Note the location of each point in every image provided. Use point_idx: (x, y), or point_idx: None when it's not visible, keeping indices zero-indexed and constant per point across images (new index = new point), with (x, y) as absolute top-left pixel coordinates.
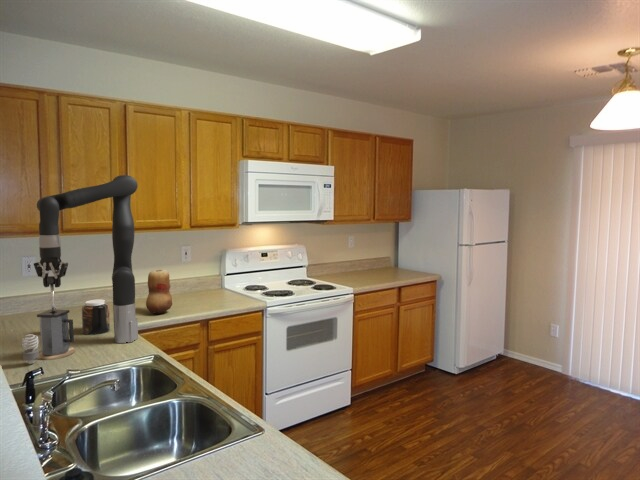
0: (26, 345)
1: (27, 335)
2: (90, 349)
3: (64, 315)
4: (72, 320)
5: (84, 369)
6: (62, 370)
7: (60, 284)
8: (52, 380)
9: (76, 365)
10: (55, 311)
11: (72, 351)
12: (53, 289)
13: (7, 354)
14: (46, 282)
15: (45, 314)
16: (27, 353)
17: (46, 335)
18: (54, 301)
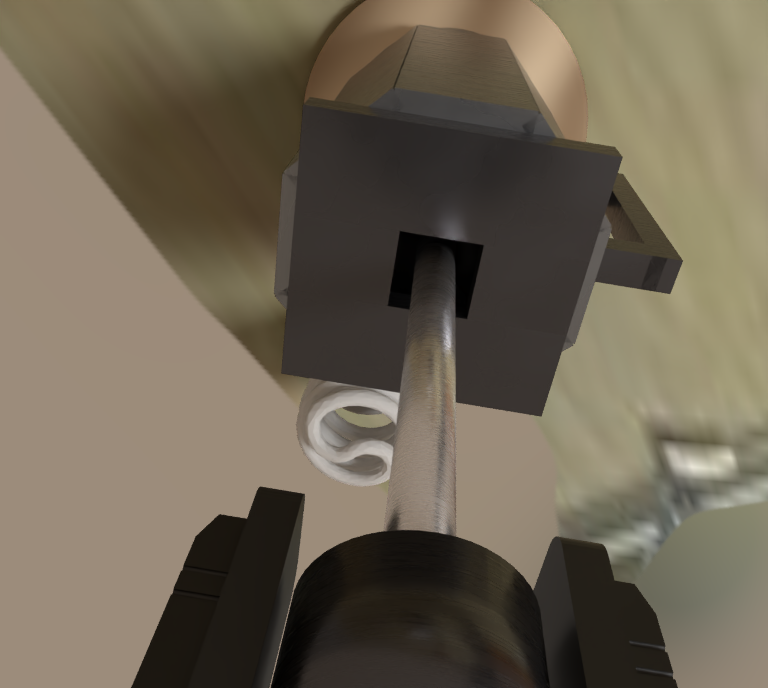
0: (362, 456)
1: (338, 461)
2: (712, 22)
3: (590, 288)
4: (676, 263)
5: (753, 437)
6: (620, 438)
7: (647, 616)
8: (614, 549)
9: (685, 372)
10: (441, 232)
11: (582, 130)
12: (453, 516)
13: (66, 115)
14: (270, 663)
15: (385, 375)
16: (369, 414)
17: None
18: (455, 356)
